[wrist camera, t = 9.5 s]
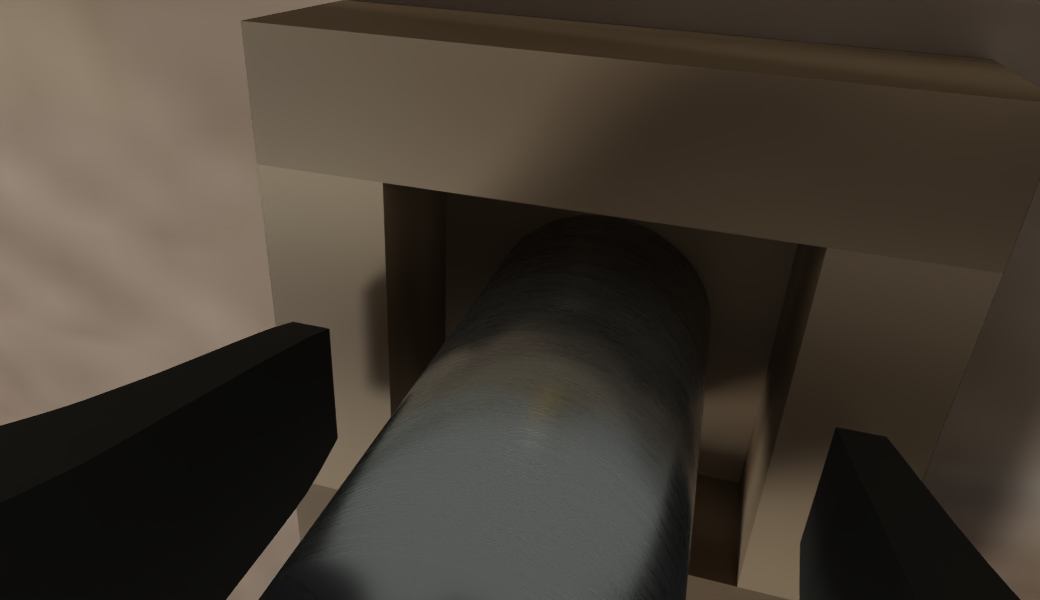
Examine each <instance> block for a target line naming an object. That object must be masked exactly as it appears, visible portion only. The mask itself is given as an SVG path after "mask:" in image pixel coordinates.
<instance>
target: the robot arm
mask: <svg viewBox="0 0 1040 600" xmlns="http://www.w3.org/2000/svg"><path fill="white" fill-rule="evenodd" d="M337 439H338V434H337V421H336V407H335V394H334V381H333V368H332V355H331V342H330V329H329V328H324V327H318V326H313V325H308V324H303V323H298V322H290V323H287V324H283V325H280V326H277V327H274V328H271V329H268V330H266V331H263V332H260V333H257V334H255V335H252V336H250V337H247V338H245V339H242V340H240V341H237V342H235V343H232V344H230V345H227V346H225V347H222V348H220V349H217V350H215V351H212V352H210V353H207V354H205V355H202V356H200V357H197V358H195V359H192V360H190V361H187V362H185V363H182V364H180V365H177V366H175V367H172V368H170V369H167V370H165V371H162V372H160V373H157V374H155V375H152V376H149V377H146V378H144V379H141V380H138V381H136V382H133V383H130V384H127V385H125V386H122V387H119V388H116V389H114V390H111V391H108V392H105V393H103V394H100V395H97V396H95V397H92V398H89V399H86V400H83V401H80V402H77V403H74V404H71V405H68V406H65V407H62V408H59V409H56V410H53V411H49V412H46V413H43V414H40V415H36V416H33V417H29V418H26V419H22V420H19V421H15V422H12V423H8V424H5V425H2V426H0V600H226V599H227V598H228V596H229V595H230V594H231V592H232V591H233V590H234V588H235V587H236V586H237V585H238V583H239V582H240V581H241V579H242V578H243V577H244V575H245V574H246V573H247V572H248V570H249V569H250V568H251V566H252V565H253V564H254V563H255V561H256V560H257V559H258V557H259V556H260V555H261V553H262V552H263V551H264V550H265V548H266V547H267V546H268V544H269V543H270V542H271V541H272V539H273V538H274V537H275V535H276V534H277V533H278V531H279V530H280V529H281V527H282V526H283V525H284V523H285V522H286V521H287V519H288V518H289V517H290V515H291V514H292V513H293V511H294V510H295V509H296V508H297V506H298V505H299V503H300V502H301V501H302V499H303V498H304V497H305V495H306V494H307V492H308V491H309V489H310V487H311V486H312V484H313V482H314V480H315V479H316V477H317V475H318V474H319V472H320V470H321V469H322V467H323V465H324V463H325V461H326V459H327V458H328V456H329V454H330V452H331V450H332V448H333V446H334V445H335V443H336V441H337ZM799 600H1020V599H1019V598H1018V596H1017V595H1016V594H1015V593H1014V592H1013V591H1012V590H1011V589H1010V588H1009V587H1008V585H1007V584H1006V583H1005V582H1004V581H1003V580H1002V579H1001V577H1000V576H999V575H998V574H997V573H996V572H995V571H994V570H993V568H992V567H991V566H990V565H989V564H988V563H987V561H986V560H985V559H984V558H983V557H982V556H981V554H980V553H979V552H978V551H977V550H976V548H975V547H974V546H973V545H972V544H971V542H970V541H969V540H968V539H967V538H966V536H965V535H964V534H963V533H962V532H961V530H960V529H959V528H958V527H957V525H956V524H955V523H954V522H953V521H952V519H951V518H950V517H949V516H948V514H947V513H946V512H945V511H944V509H943V508H942V507H941V506H940V504H939V503H938V502H937V500H936V499H935V498H934V497H933V495H932V494H931V493H930V492H929V490H928V489H927V488H926V486H925V485H924V484H923V483H922V481H921V480H920V479H919V477H918V476H917V475H916V474H915V472H914V471H913V470H912V468H911V467H910V466H909V465H908V463H907V462H906V461H905V459H904V458H903V457H902V455H901V454H900V453H899V452H898V450H897V449H896V448H895V447H894V445H893V444H892V443H891V442H890V440H889V439H888V438H887V437H886V436H880V435H875V434H870V433H865V432H860V431H855V430H849V429H844V428H839V427H836V428H835V431H834V435H833V438H832V441H831V444H830V448H829V451H828V454H827V457H826V461H825V464H824V467H823V470H822V474H821V477H820V480H819V483H818V487H817V490H816V493H815V496H814V499H813V503H812V506H811V509H810V512H809V516H808V519H807V522H806V525H805V529H804V532H803V535H802V538H801V542H800V574H799Z"/></svg>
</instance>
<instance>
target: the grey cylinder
mask: <svg viewBox="0 0 1040 600" xmlns="http://www.w3.org/2000/svg"><path fill="white" fill-rule="evenodd" d="M710 330H711V313H710V307H709V302H708V297H707V294H706V291H705V289H704V286H703V284H702V282H701V280H700V278H699V276H698V274H697V272H696V271H695V269H694V268H693V266H692V265H691V263H690V262H689V261H688V259H687V258H686V257H685V256H684V255H683V254H682V253H681V252H680V251H679V250H678V249H677V248H676V247H675V246H674V245H673V244H671V243H670V242H669V241H668V240H667V239H665V238H664V237H662V236H661V235H659V234H657V233H656V232H654V231H653V230H651V229H648V228H646V227H644V226H642V225H640V224H638V223H635V222H632V221H629V220H626V219H622V218H617V217H612V216H605V215H578V216H572V217H566V218H562V219H559V220H556V221H553V222H550V223H548V224H546V225H544V226H541V227H539V228H537V229H536V230H534V231H533V232H531V233H530V234H528V235H527V236H526V237H524V238H523V239H522V240H521V241H520V242H519V243H518V244H517V245H516V246H515V247H514V248H513V249H512V251H511V252H510V253H509V254H508V255H507V257H506V258H505V260H504V261H503V262H502V264H501V265H500V267H499V268H498V269H497V271H496V272H495V273H494V275H493V276H492V278H491V279H490V280H489V282H488V283H487V285H486V286H485V287H484V289H483V290H482V291H481V293H480V294H479V296H478V297H477V298H476V300H475V301H474V303H473V304H472V305H471V307H470V308H469V309H468V311H467V312H466V314H465V315H464V316H463V318H462V319H461V320H460V322H459V323H458V325H457V326H456V327H455V329H454V330H453V332H452V333H451V334H450V336H449V337H448V338H447V340H446V341H445V343H444V344H443V345H442V347H441V348H440V350H439V351H438V352H437V354H436V355H435V356H434V358H433V359H432V361H431V362H430V363H429V365H428V366H427V368H426V369H425V370H424V372H423V373H422V374H421V376H420V377H419V379H418V380H417V381H416V383H415V384H414V385H413V387H412V388H411V390H410V391H409V392H408V394H407V395H406V397H405V398H404V399H403V401H402V402H401V403H400V405H399V406H398V408H397V409H396V410H395V412H394V413H393V415H392V416H391V417H390V419H389V420H388V421H387V423H386V424H385V426H384V427H383V428H382V430H381V431H380V433H379V434H378V435H377V437H376V438H375V439H374V441H373V442H372V444H371V445H370V446H369V448H368V449H367V450H366V452H365V453H364V455H363V456H362V457H361V459H360V460H359V462H358V463H357V464H356V466H355V467H354V468H353V470H352V471H351V473H350V474H349V475H348V477H347V478H346V480H345V481H344V482H343V484H342V485H341V486H340V488H339V489H338V491H337V492H336V493H335V495H334V496H333V498H332V499H331V500H330V502H329V503H328V504H327V506H326V507H325V509H324V510H323V511H322V513H321V514H320V515H319V517H318V518H317V520H316V521H315V522H314V524H313V525H312V527H311V528H310V529H309V531H308V532H307V533H306V535H305V536H304V538H303V539H302V540H301V542H300V543H299V545H298V546H297V547H296V549H295V550H294V551H293V553H292V554H291V556H290V557H289V558H288V560H287V561H286V563H285V564H284V565H283V567H282V568H281V569H280V571H279V572H278V574H277V575H276V576H275V578H274V579H273V580H272V582H271V583H270V585H269V586H268V587H267V589H266V590H265V592H264V593H263V594H262V596H261V597H260V598H259V600H686V592H687V581H688V570H689V559H690V549H691V538H692V527H693V516H694V505H695V494H696V483H697V472H698V461H699V450H700V439H701V428H702V418H703V407H704V396H705V385H706V374H707V363H708V352H709V341H710Z"/></svg>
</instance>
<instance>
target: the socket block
mask: <svg viewBox="0 0 1040 600" xmlns="http://www.w3.org/2000/svg"><path fill="white" fill-rule="evenodd" d="M241 27H242V36H243V44H244V53H245V62H246V71H247V79H248V88H249V97H250V105H251V114H252V123H253V132H254V140H255V149H256V158H257V166H258V175H259V184H260V193H261V201H262V210H263V219H264V227H265V236H266V245H267V254H268V262H269V271H270V280H271V288H272V297H273V306H274V315H275V323H276V327H277V326H280V325H283V324H287V323H290V322H298V323H303V324H308V325H313V326H318V327H324V328H329V329H330V342H331V355H332V368H333V381H334V394H335V407H336V421H337V434H338V439H337V441H336V443H335V445H334V446H333V448H332V450H331V452H330V454H329V456H328V458H327V459H326V461H325V463H324V465H323V467H322V469H321V470H320V472H319V474H318V475H317V477H316V479H315V480H314V482H313V484H312V486H311V487H310V489H309V491H308V492H307V494H306V495H305V497H304V498H303V499H302V501H301V502H300V503H299V505H298V506H297V515H298V524H299V533H300V541H301V540H302V539H303V538H304V536H305V535H306V533H307V532H308V531H309V529H310V528H311V527H312V525H313V524H314V522H315V521H316V520H317V518H318V517H319V515H320V514H321V513H322V511H323V510H324V509H325V507H326V506H327V504H328V503H329V502H330V500H331V499H332V498H333V496H334V495H335V493H336V492H337V491H338V489H339V488H340V486H341V485H342V484H343V482H344V481H345V480H346V478H347V477H348V475H349V474H350V473H351V471H352V470H353V468H354V467H355V466H356V464H357V463H358V462H359V460H360V459H361V457H362V456H363V455H364V453H365V452H366V450H367V449H368V448H369V446H370V445H371V444H372V442H373V441H374V439H375V438H376V437H377V435H378V434H379V433H380V431H381V430H382V428H383V427H384V426H385V424H386V423H387V421H388V420H389V419H390V417H391V416H392V415H393V413H394V412H395V410H396V409H397V408H398V406H399V405H400V403H401V402H402V401H403V399H404V398H405V397H406V395H407V394H408V392H409V391H410V390H411V388H412V387H413V385H414V384H415V383H416V381H417V380H418V379H419V377H420V376H421V374H422V373H423V372H424V370H425V369H426V368H427V366H428V365H429V363H430V362H431V361H432V359H433V358H434V356H435V355H436V354H437V352H438V351H439V350H440V348H441V347H442V345H443V344H444V343H445V341H446V340H447V338H448V337H449V336H450V334H451V333H452V332H453V330H454V329H455V327H456V326H457V325H458V323H459V322H460V320H461V319H462V318H463V316H464V315H465V314H466V312H467V311H468V309H469V308H470V307H471V305H472V304H473V303H474V301H475V300H476V298H477V297H478V296H479V294H480V293H481V291H482V290H483V289H484V287H485V286H486V285H487V283H488V282H489V280H490V279H491V278H492V276H493V275H494V273H495V272H496V271H497V269H498V268H499V267H500V265H501V264H502V262H503V261H504V260H505V258H506V257H507V255H508V254H509V253H510V252H511V251H512V249H513V248H514V247H515V246H516V245H517V244H518V243H519V242H520V241H521V240H522V239H523V238H524V237H526V236H527V235H528V234H530V233H531V232H533V231H534V230H536V229H537V228H539V227H541V226H544V225H546V224H548V223H550V222H553V221H556V220H559V219H562V218H566V217H572V216H578V215H605V216H612V217H617V218H622V219H626V220H629V221H632V222H635V223H638V224H640V225H642V226H644V227H646V228H648V229H651V230H653V231H654V232H656V233H657V234H659V235H661V236H662V237H664V238H665V239H667V240H668V241H669V242H670V243H671V244H673V245H674V246H675V247H676V248H677V249H678V250H679V251H680V252H681V253H682V254H683V255H684V256H685V257H686V258H687V259H688V261H689V262H690V263H691V265H692V266H693V268H694V269H695V271H696V272H697V274H698V276H699V278H700V280H701V282H702V284H703V286H704V289H705V291H706V294H707V297H708V302H709V307H710V313H711V330H710V341H709V352H708V363H707V374H706V385H705V396H704V407H703V418H702V428H701V439H700V450H699V461H698V472H697V483H696V494H695V505H694V516H693V527H692V538H691V549H690V559H689V570H688V581H687V592H686V600H799V574H800V542H801V538H802V535H803V532H804V529H805V525H806V522H807V519H808V516H809V512H810V509H811V506H812V503H813V499H814V496H815V493H816V490H817V487H818V483H819V480H820V477H821V474H822V470H823V467H824V464H825V461H826V457H827V454H828V451H829V448H830V444H831V441H832V438H833V435H834V431H835V428H836V427H839V428H844V429H849V430H855V431H860V432H865V433H870V434H875V435H880V436H886V437H887V438H888V439H889V440H890V442H891V443H892V444H893V445H894V447H895V448H896V449H897V450H898V452H899V453H900V454H901V455H902V457H903V458H904V459H905V461H906V462H907V463H908V465H909V466H910V467H911V468H912V470H913V471H914V472H915V474H916V475H917V476H918V477H919V479H920V480H921V481H922V480H923V477H924V475H925V472H926V469H927V467H928V464H929V462H930V459H931V457H932V454H933V452H934V449H935V446H936V444H937V441H938V439H939V436H940V434H941V431H942V429H943V426H944V423H945V421H946V418H947V416H948V413H949V411H950V408H951V406H952V403H953V400H954V398H955V395H956V393H957V390H958V388H959V385H960V383H961V380H962V378H963V375H964V372H965V370H966V367H967V365H968V362H969V360H970V357H971V355H972V352H973V349H974V347H975V344H976V342H977V339H978V337H979V334H980V332H981V329H982V326H983V324H984V321H985V319H986V316H987V314H988V311H989V309H990V306H991V303H992V301H993V298H994V296H995V293H996V291H997V288H998V286H999V283H1000V280H1001V278H1002V275H1003V273H1004V270H1005V268H1006V265H1007V263H1008V260H1009V257H1010V255H1011V252H1012V250H1013V247H1014V245H1015V242H1016V240H1017V237H1018V234H1019V232H1020V229H1021V227H1022V224H1023V222H1024V219H1025V217H1026V214H1027V211H1028V209H1029V206H1030V204H1031V201H1032V199H1033V196H1034V194H1035V191H1036V189H1037V186H1038V183H1039V181H1040V87H1038V86H1036V85H1035V84H1033V83H1031V82H1029V81H1028V80H1026V79H1024V78H1023V77H1021V76H1019V75H1018V74H1016V73H1014V72H1012V71H1011V70H1009V69H1007V68H1006V67H1004V66H1002V65H1001V64H999V63H997V62H995V61H994V60H992V59H983V58H972V57H961V56H950V55H939V54H928V53H917V52H906V51H895V50H884V49H874V48H863V47H852V46H841V45H830V44H819V43H808V42H797V41H786V40H776V39H765V38H754V37H743V36H732V35H721V34H710V33H699V32H688V31H677V30H667V29H656V28H645V27H634V26H623V25H612V24H601V23H590V22H579V21H569V20H558V19H547V18H536V17H525V16H514V15H503V14H492V13H481V12H470V11H460V10H449V9H438V8H427V7H416V6H405V5H394V4H383V3H372V2H362V1H351V0H342V1H337V2H332V3H327V4H322V5H317V6H312V7H307V8H302V9H297V10H292V11H287V12H282V13H277V14H272V15H267V16H262V17H257V18H252V19H247V20H242V21H241Z"/></svg>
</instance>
